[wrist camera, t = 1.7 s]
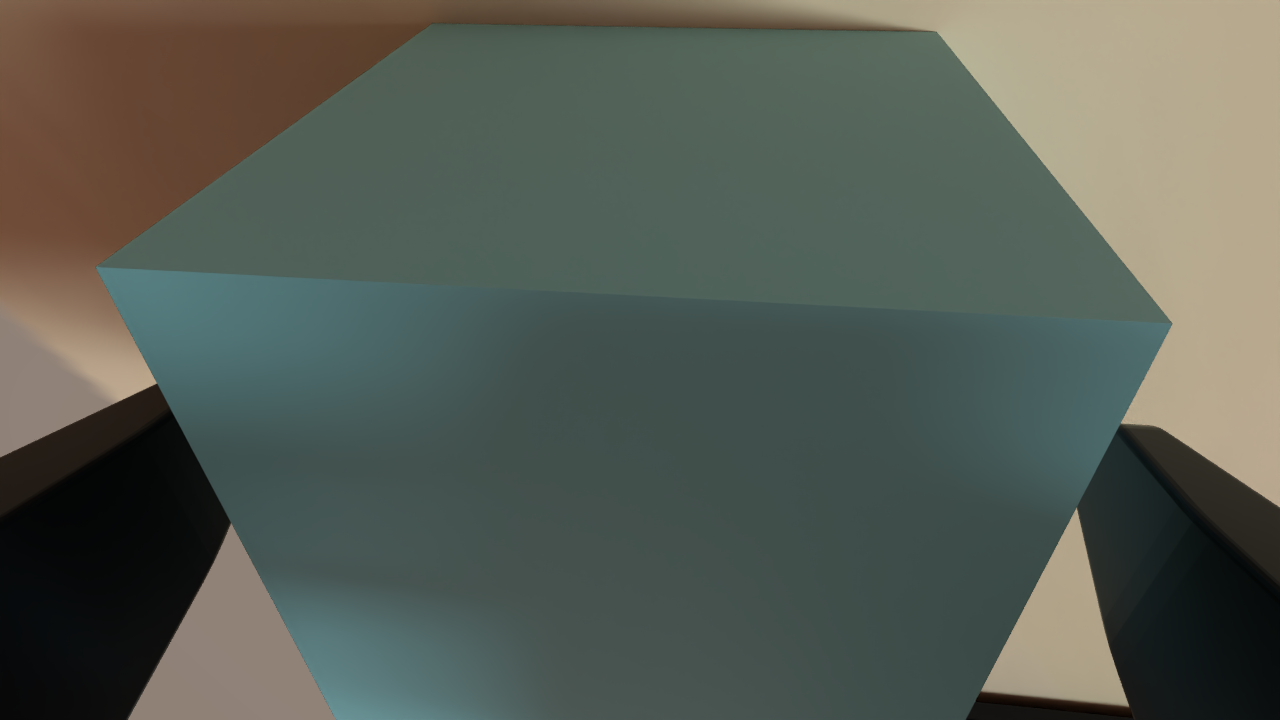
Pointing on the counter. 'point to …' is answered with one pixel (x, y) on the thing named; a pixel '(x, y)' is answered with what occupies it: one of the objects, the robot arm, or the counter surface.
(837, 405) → the teal block
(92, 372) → the counter surface
